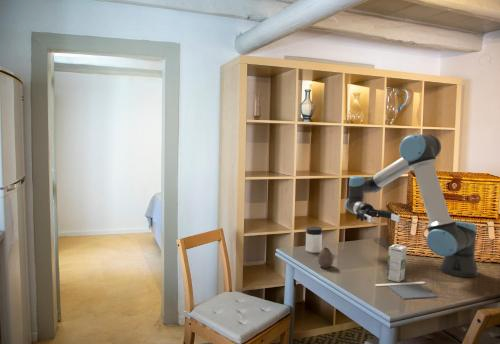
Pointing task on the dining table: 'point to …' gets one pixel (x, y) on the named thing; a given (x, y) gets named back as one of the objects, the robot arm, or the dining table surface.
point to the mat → (411, 291)
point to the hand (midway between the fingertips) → (385, 219)
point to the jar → (313, 239)
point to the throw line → (400, 284)
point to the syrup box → (396, 263)
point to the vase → (325, 258)
